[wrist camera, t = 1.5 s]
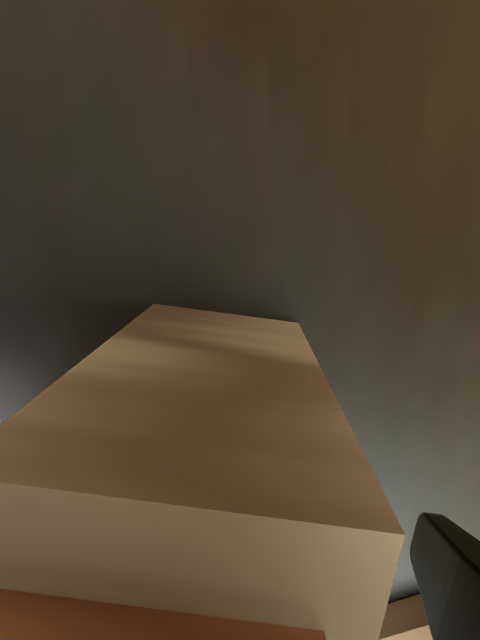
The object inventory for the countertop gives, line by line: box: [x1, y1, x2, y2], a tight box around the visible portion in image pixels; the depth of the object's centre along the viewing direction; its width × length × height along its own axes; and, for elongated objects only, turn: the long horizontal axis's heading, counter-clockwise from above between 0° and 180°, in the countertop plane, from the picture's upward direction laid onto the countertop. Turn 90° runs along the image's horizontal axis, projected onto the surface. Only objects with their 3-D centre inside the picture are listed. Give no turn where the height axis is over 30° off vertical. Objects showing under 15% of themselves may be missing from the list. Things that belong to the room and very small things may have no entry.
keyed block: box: [0, 304, 405, 640], centre depth 8 cm, size 4×6×8 cm, turn 173°
